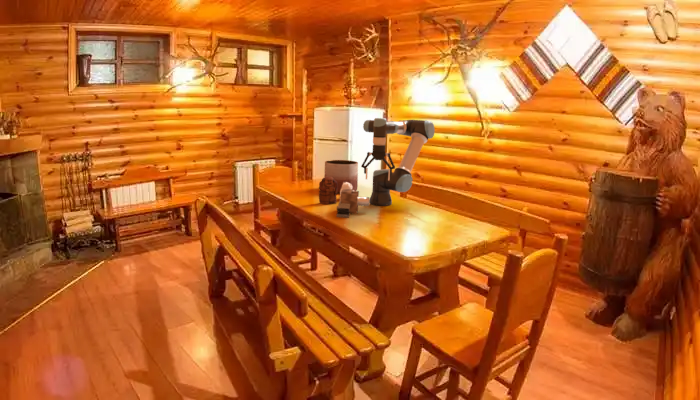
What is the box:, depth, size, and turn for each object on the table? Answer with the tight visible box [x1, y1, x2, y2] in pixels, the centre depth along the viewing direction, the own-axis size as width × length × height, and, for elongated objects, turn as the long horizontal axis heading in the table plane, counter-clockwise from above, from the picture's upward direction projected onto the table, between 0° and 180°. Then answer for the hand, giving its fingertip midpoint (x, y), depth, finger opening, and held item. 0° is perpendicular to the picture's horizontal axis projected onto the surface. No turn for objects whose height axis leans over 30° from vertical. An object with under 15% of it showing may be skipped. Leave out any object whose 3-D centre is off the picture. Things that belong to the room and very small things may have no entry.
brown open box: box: [341, 189, 360, 215], centre depth 268 cm, size 10×10×13 cm
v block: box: [336, 202, 351, 219], centre depth 258 cm, size 7×10×6 cm
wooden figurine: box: [318, 176, 338, 205], centre depth 287 cm, size 12×6×18 cm, turn 116°
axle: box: [339, 196, 370, 207], centre depth 267 cm, size 18×6×6 cm, turn 85°
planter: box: [323, 159, 359, 194], centre depth 329 cm, size 25×25×22 cm
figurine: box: [339, 182, 354, 197], centre depth 301 cm, size 10×10×12 cm
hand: (377, 179), depth 263 cm, fingers open, 13 cm apart
